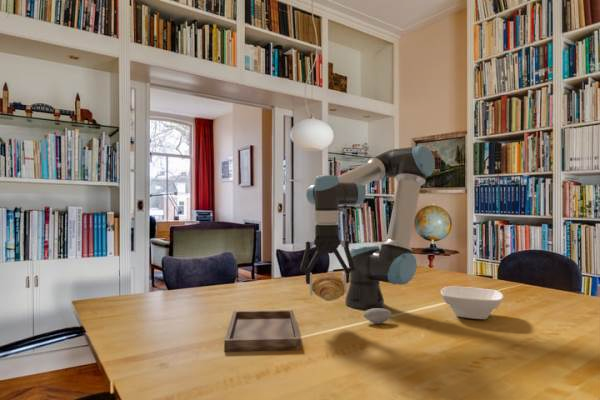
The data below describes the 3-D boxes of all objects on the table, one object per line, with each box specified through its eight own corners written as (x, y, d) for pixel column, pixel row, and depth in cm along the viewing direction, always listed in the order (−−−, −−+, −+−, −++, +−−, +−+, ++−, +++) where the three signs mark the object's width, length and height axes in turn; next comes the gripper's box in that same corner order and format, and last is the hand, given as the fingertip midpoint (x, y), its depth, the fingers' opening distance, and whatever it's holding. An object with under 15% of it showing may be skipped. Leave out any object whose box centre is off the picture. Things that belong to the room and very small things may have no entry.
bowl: (502, 313, 146) (502, 289, 146) (505, 328, 127) (505, 301, 127) (443, 306, 155) (443, 284, 155) (437, 320, 136) (437, 295, 136)
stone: (388, 320, 135) (388, 305, 135) (394, 325, 130) (394, 309, 130) (360, 321, 134) (360, 306, 134) (366, 326, 128) (366, 311, 128)
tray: (293, 318, 136) (293, 310, 136) (300, 349, 107) (300, 338, 107) (233, 320, 134) (233, 311, 134) (224, 351, 105) (224, 340, 105)
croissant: (339, 315, 115) (352, 291, 115) (309, 299, 115) (321, 275, 115) (334, 296, 136) (345, 275, 136) (308, 282, 136) (319, 262, 136)
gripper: (359, 222, 130) (359, 289, 130) (290, 223, 128) (291, 292, 128) (364, 224, 123) (365, 295, 123) (292, 225, 121) (293, 297, 121)
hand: (327, 293), depth 126 cm, fingers closed on croissant, 10 cm apart
